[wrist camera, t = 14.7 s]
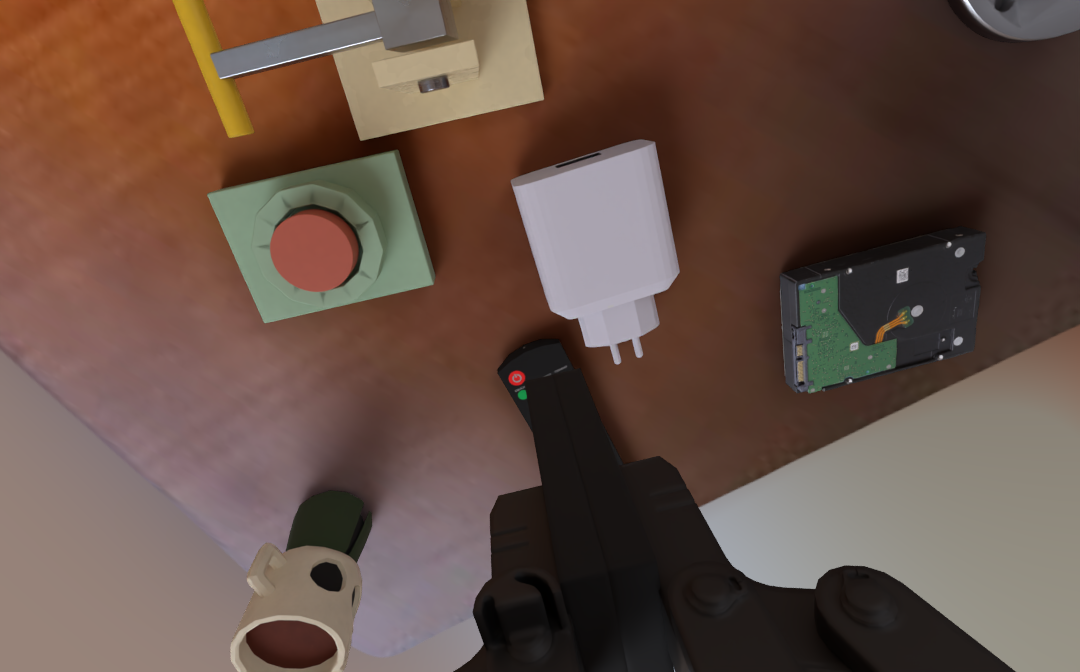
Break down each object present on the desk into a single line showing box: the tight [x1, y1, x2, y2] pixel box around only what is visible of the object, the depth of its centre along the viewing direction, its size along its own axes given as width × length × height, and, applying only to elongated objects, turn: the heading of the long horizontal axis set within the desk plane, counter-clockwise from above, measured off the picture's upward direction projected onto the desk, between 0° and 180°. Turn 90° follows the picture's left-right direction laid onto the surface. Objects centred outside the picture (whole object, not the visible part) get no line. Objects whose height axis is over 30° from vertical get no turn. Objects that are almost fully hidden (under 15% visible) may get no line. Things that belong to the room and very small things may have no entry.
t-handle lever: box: [172, 0, 459, 138], centre depth 25 cm, size 12×6×2 cm, turn 102°
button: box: [270, 209, 359, 292], centre depth 34 cm, size 5×5×2 cm
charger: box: [511, 139, 680, 364], centre depth 38 cm, size 5×9×15 cm
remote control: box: [497, 339, 623, 465], centre depth 47 cm, size 5×24×1 cm, turn 26°
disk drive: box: [780, 226, 986, 393], centre depth 43 cm, size 10×3×15 cm
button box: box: [207, 150, 435, 323], centre depth 36 cm, size 12×9×4 cm
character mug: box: [231, 491, 372, 672], centre depth 41 cm, size 11×7×13 cm, turn 23°
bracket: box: [315, 0, 544, 141], centre depth 28 cm, size 12×9×13 cm
